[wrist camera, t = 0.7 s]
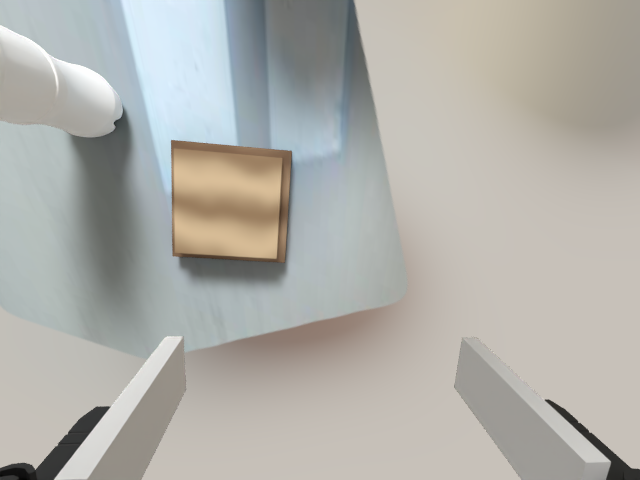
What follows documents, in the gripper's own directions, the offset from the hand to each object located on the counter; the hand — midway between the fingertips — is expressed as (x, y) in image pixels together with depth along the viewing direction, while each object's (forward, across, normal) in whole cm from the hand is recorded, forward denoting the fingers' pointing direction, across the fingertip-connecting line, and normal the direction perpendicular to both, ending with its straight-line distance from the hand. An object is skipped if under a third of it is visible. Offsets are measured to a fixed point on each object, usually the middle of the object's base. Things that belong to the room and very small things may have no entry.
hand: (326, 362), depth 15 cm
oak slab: (+26, -10, +4) cm, 28 cm away
